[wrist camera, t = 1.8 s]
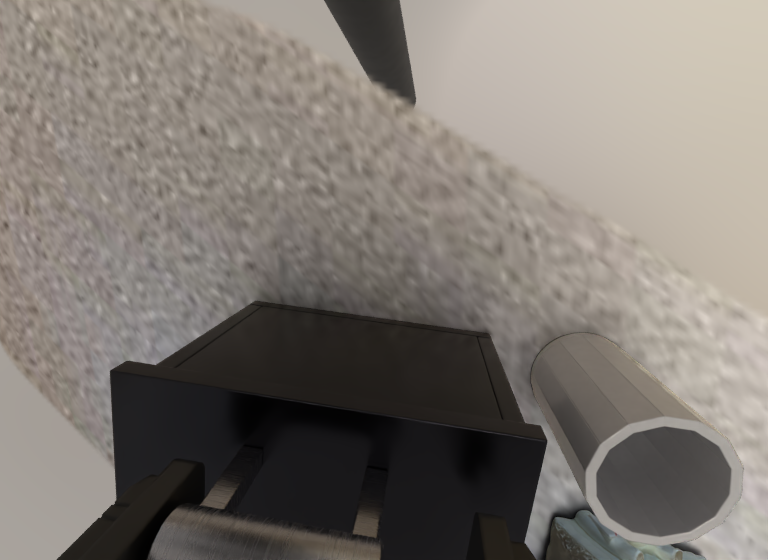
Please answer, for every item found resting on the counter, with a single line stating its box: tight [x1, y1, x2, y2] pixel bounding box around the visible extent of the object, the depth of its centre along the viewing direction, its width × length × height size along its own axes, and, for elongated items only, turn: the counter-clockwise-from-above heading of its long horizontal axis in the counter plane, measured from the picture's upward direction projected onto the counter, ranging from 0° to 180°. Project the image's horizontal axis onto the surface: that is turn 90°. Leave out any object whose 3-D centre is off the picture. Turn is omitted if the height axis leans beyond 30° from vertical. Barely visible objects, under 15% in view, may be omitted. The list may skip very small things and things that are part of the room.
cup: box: [531, 333, 744, 546], centre depth 19 cm, size 5×5×8 cm
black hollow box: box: [157, 301, 525, 423], centre depth 20 cm, size 17×14×10 cm
